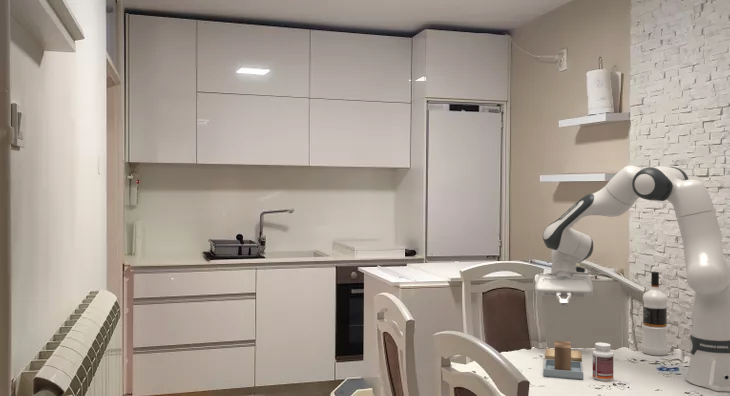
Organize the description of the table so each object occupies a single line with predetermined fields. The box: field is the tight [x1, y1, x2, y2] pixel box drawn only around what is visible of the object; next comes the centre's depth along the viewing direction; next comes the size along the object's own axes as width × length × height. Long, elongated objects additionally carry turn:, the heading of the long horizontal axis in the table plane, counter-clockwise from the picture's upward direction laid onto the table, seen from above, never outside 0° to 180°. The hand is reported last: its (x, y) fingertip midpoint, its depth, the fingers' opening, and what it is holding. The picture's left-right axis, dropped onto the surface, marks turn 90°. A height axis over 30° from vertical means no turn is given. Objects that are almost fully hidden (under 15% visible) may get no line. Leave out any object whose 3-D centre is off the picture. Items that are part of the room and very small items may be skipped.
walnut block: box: [554, 340, 572, 371], centre depth 206 cm, size 5×9×9 cm
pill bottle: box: [592, 342, 614, 382], centre depth 200 cm, size 6×6×11 cm
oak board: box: [544, 348, 583, 363], centre depth 218 cm, size 12×10×4 cm
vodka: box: [640, 271, 669, 357], centre depth 232 cm, size 9×9×30 cm
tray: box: [543, 358, 584, 381], centre depth 206 cm, size 12×13×2 cm
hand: (563, 304), depth 225 cm, fingers closed
